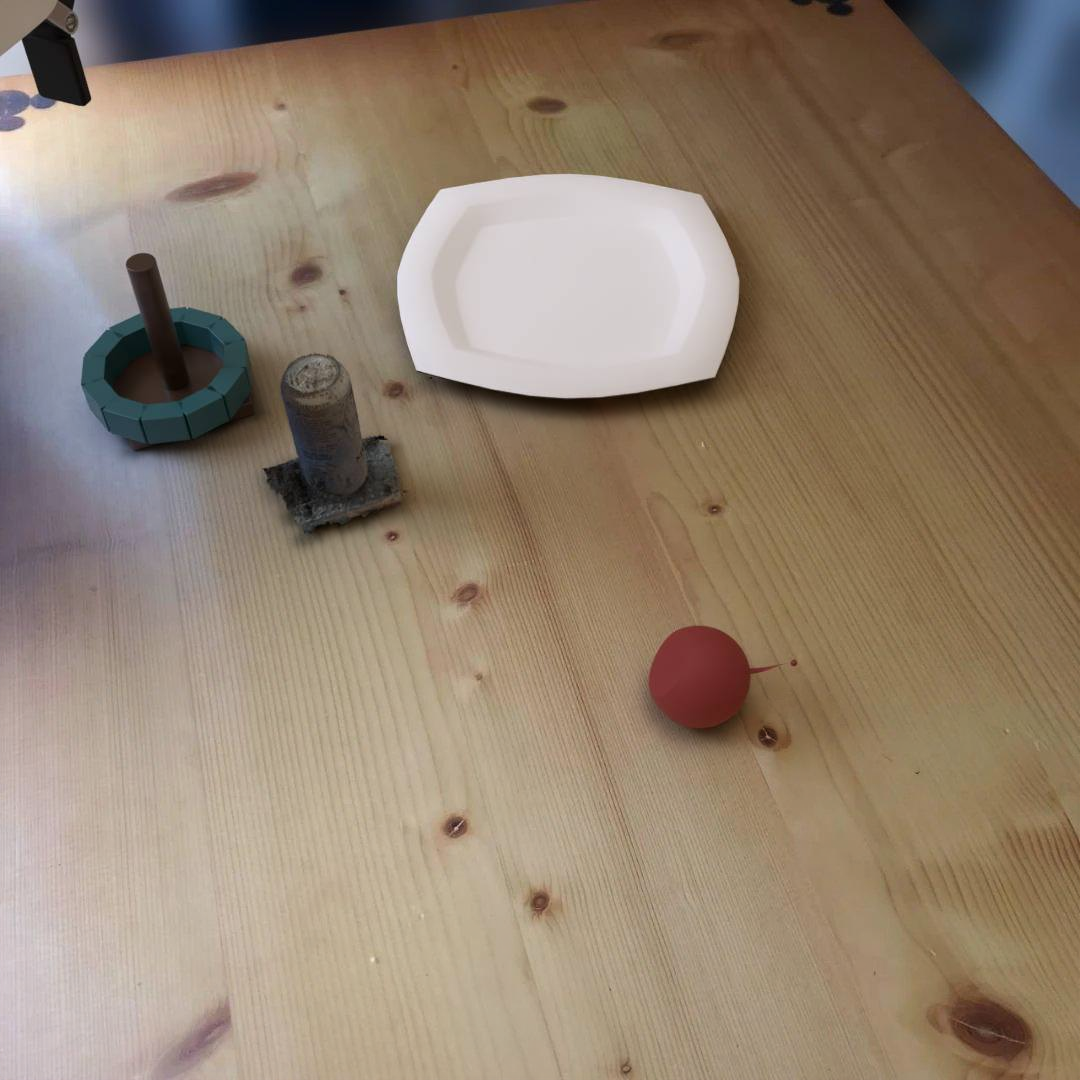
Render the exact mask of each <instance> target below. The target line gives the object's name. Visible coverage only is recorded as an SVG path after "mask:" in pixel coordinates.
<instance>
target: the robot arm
mask: <svg viewBox="0 0 1080 1080" xmlns="http://www.w3.org/2000/svg"><path fill="white" fill-rule="evenodd" d="M75 1H76V0H0V57H2V56H3V55H4V54H5V53H7V52H8V51H9V50H10V49H12V48H13V47H14V46H15V45H17V44H18V43H19V42H21V43H22V45H23V49H24V52H25V55H26V59H27V61H28V65H29V67H30V70H31V74H32V77H33V81H34V83H35V87H36V89H37V92H38V94H39V96H41V97H42V98H44V99H47V100H53V101H56V102H61V103H65V104H69V105H73V106H76V107H77V106H78V107H86V106H87V105H88V104H89V103H91V101H92V95H91V91H90V88H89V84H88V80H87V78H86V77H87V76H86V74H85V70H84V67H83V63H82V60H81V56H80V54H79V53H80V52H79V50H78V46H77V42H76V40H75V37H73V36H72V35H75V34H76V32H77V31H78V29H79V17H78V15H77V13H75V11H74V7H75Z"/></svg>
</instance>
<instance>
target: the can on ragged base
mask: <svg viewBox="0 0 1080 1080" xmlns="http://www.w3.org/2000/svg"><path fill="white" fill-rule="evenodd" d="M279 389H280V395H281V399H282V402H283V407H284V411H285V414H286V417H287V421H288V425H289V429H290V433H291V435H292V439H293V444H294V447H295V451H296V452H295V453H296V455H297V457H295V459H290V460H288V461H285V462H283V463H278V464H277V465H272V466H269V467H263V468H262V470H263V473H264V474H265V475H266V480H265V482H266V485H268V486H269V490H270V491H272V490H273V491H274V492H275V493H274V494H275V495H276V494H278V493H279V494H280V495H281V496H282V500H283V503H284V504H285V505H286V510H287V511H291V512H290V513H291V517H292V518H294V519H293V520H294V521H295V523H297V524H298V525H299V526H300V527H301V528H302V531H303V534H306V533H308V534H310V535H311V534H312V533H313V531H314V530H315V528H316V527H317V526H320V525H324V526H325V525H326V524H327V523H328V522H329V525H330V526H331V525H333V524H334V523H339V524H340V525H341V526H342V525H343V524H349V523H350V522H351V521H352V520H353V518H356V517H359V516H362V517H363V519H364V518H365V517H367V515H369V513H372V512H377V511H379V510H380V509H382V508H383V509H384V508H395V507H396V506H397V507H398V506H400V505H402V504H403V502H402V500H403V491H400V489H399V486H400V484H399V483H398V482H399V481H398V480H400V479H401V477H400V474H399V470H398V468H397V464H395V463H396V462H395V460H394V455H393V453H392V451H391V446H390V445H389V443H386V444H383V441H388V438H387V437H385V435H381V434H379V435H372V436H371V435H370V436H368V437H365V438H363V437H362V431H361V425H360V420H359V414H358V410H357V405H356V400H355V396H354V390H353V389H354V388H353V385H352V380H351V376H350V373H349V371H348V369H347V368H346V366H344V365H343V364H342V363H341V362H340V361H338V360H337V359H336V358H335V357H334V356H333V355H331V354H324V353H316V352H314V353H309V354H307V355H301V356H299V357H297V358H296V359H294V360H292V361H291V362H290V363H288V366H287V367H286V369H285V371H284V372H283V374H282V376H281V379H280V385H279ZM387 455H390V456H387ZM392 455H393V456H392Z"/></svg>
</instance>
